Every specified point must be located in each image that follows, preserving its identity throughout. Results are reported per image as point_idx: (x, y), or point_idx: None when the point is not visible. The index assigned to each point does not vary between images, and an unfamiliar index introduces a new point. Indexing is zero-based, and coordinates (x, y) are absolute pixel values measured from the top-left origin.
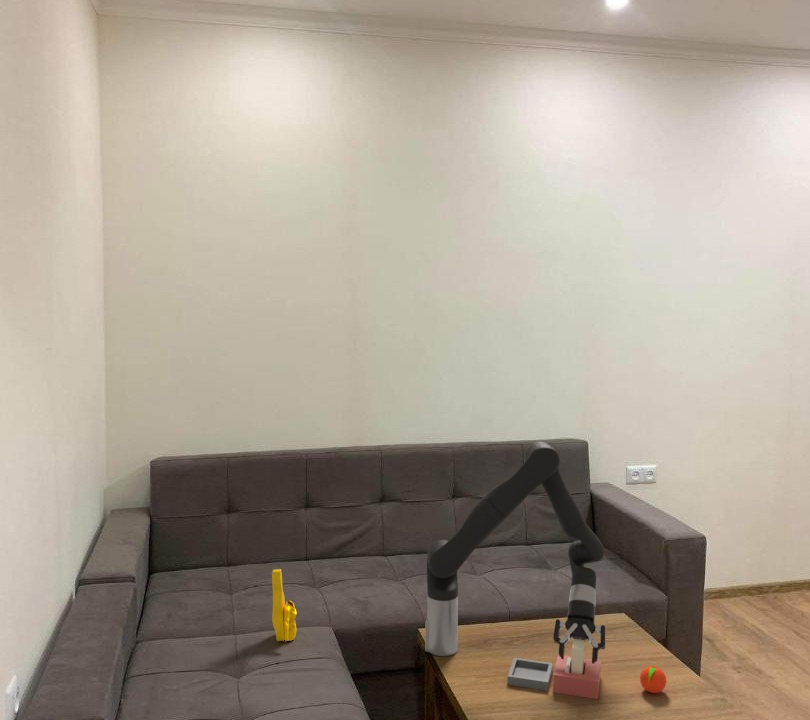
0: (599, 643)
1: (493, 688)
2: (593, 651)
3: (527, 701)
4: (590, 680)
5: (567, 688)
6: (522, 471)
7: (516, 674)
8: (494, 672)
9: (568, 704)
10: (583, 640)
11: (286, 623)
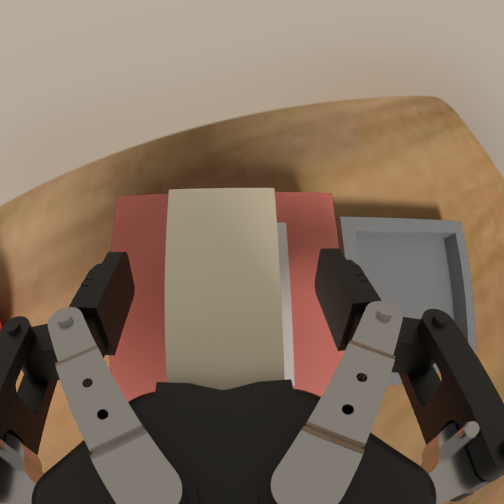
0: (38, 348)
1: (460, 198)
2: (98, 287)
3: (367, 150)
4: (153, 195)
5: None
6: None
7: (444, 282)
8: (485, 289)
9: (242, 161)
10: (177, 379)
11: None
